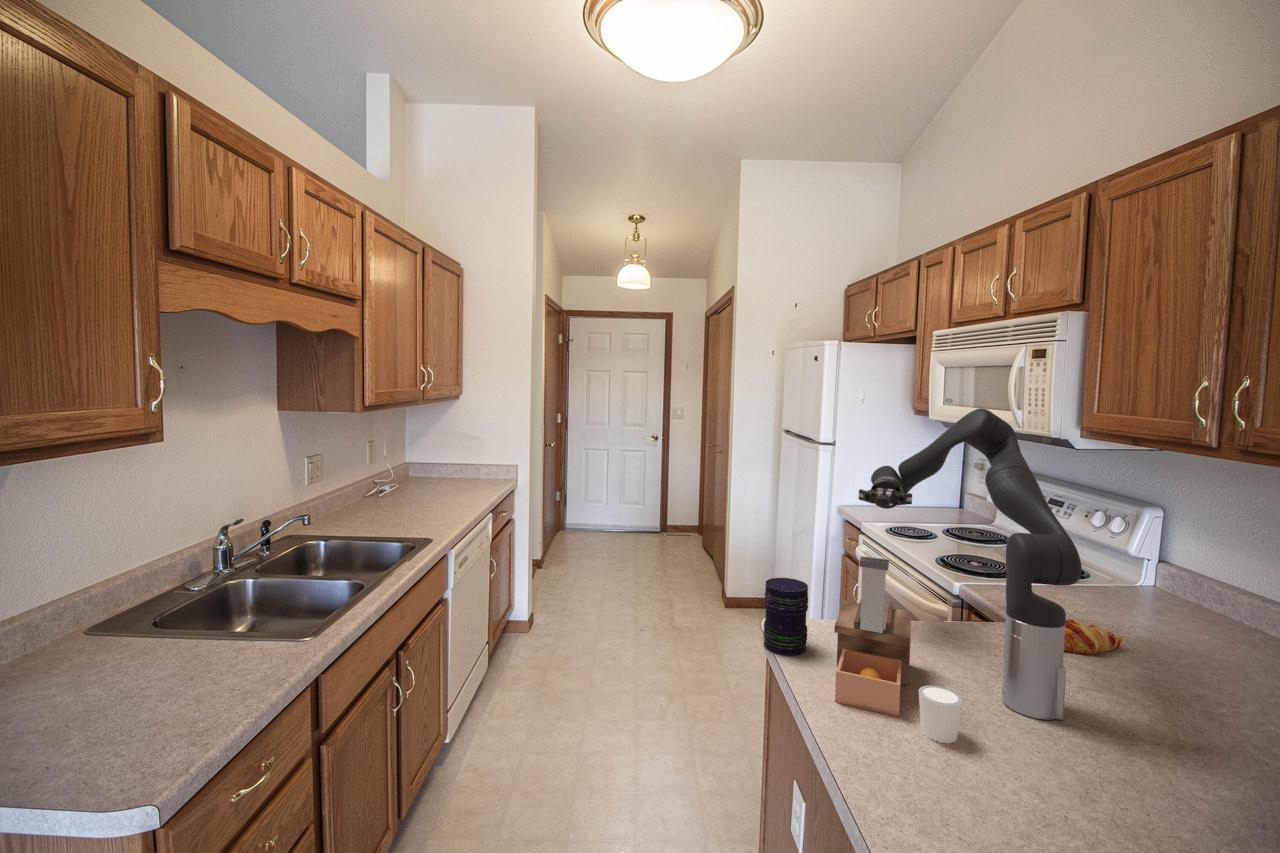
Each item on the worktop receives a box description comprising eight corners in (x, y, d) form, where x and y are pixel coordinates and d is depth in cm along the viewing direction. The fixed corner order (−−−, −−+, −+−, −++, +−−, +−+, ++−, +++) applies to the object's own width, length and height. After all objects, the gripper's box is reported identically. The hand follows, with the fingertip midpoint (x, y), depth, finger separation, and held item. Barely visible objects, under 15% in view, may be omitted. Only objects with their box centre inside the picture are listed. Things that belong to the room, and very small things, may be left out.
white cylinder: (967, 748, 95) (969, 707, 95) (923, 742, 96) (924, 702, 96) (953, 725, 102) (955, 687, 101) (912, 720, 103) (913, 682, 103)
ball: (880, 695, 112) (881, 676, 115) (879, 685, 110) (881, 666, 112) (858, 690, 114) (860, 671, 116) (857, 680, 111) (859, 661, 114)
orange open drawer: (900, 689, 114) (901, 660, 114) (898, 717, 104) (900, 685, 104) (842, 676, 119) (843, 648, 119) (834, 701, 109) (835, 671, 109)
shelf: (909, 665, 125) (911, 604, 124) (908, 699, 110) (910, 631, 110) (842, 651, 131) (844, 594, 130) (832, 682, 116) (834, 618, 116)
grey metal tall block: (886, 627, 114) (889, 559, 113) (885, 634, 111) (888, 564, 110) (858, 623, 116) (861, 556, 116) (857, 629, 113) (859, 560, 112)
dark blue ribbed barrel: (759, 651, 130) (761, 587, 129) (766, 635, 139) (768, 575, 138) (804, 659, 126) (806, 594, 126) (808, 642, 136) (810, 580, 135)
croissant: (1111, 657, 138) (1101, 622, 141) (1145, 654, 129) (1134, 618, 132) (1024, 653, 138) (1016, 619, 141) (1052, 651, 129) (1043, 614, 132)
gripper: (860, 475, 152) (853, 484, 137) (915, 479, 146) (914, 488, 131) (859, 503, 153) (852, 515, 137) (913, 508, 147) (913, 521, 131)
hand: (882, 502), depth 134 cm, fingers closed
